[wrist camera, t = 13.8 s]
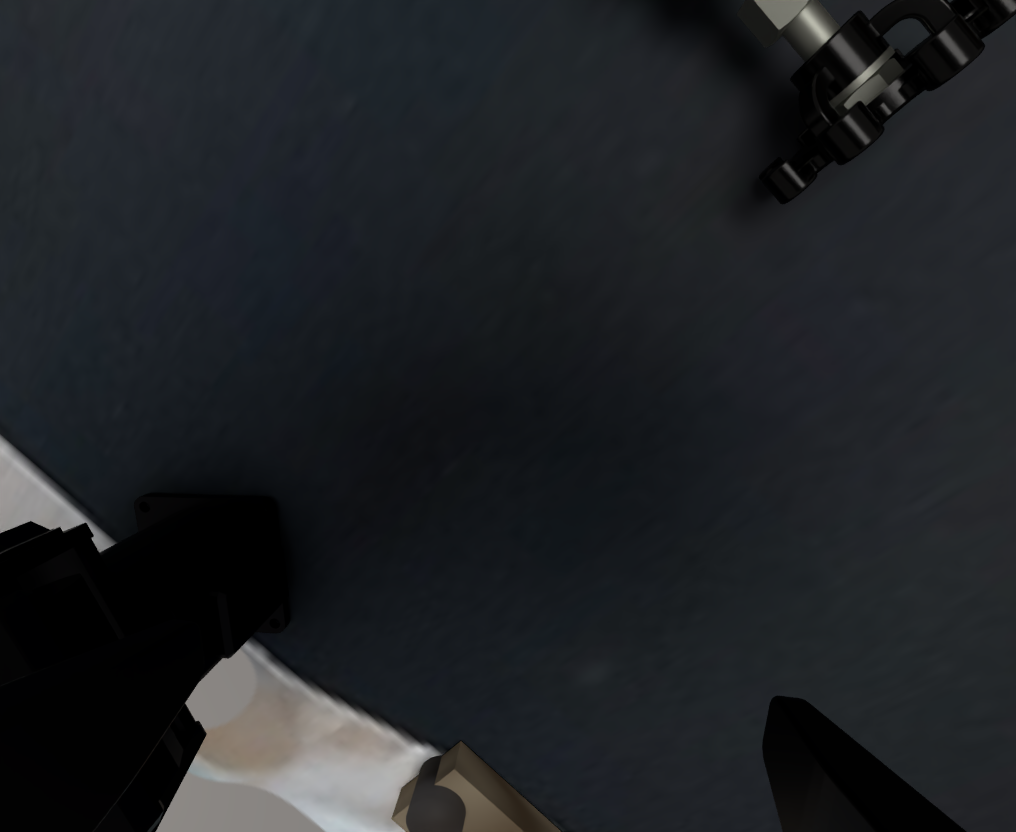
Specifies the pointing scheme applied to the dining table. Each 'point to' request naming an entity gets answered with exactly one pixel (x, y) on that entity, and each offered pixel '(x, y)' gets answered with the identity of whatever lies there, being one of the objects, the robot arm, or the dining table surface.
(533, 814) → the oak chain end
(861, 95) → the valve
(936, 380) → the dining table surface
